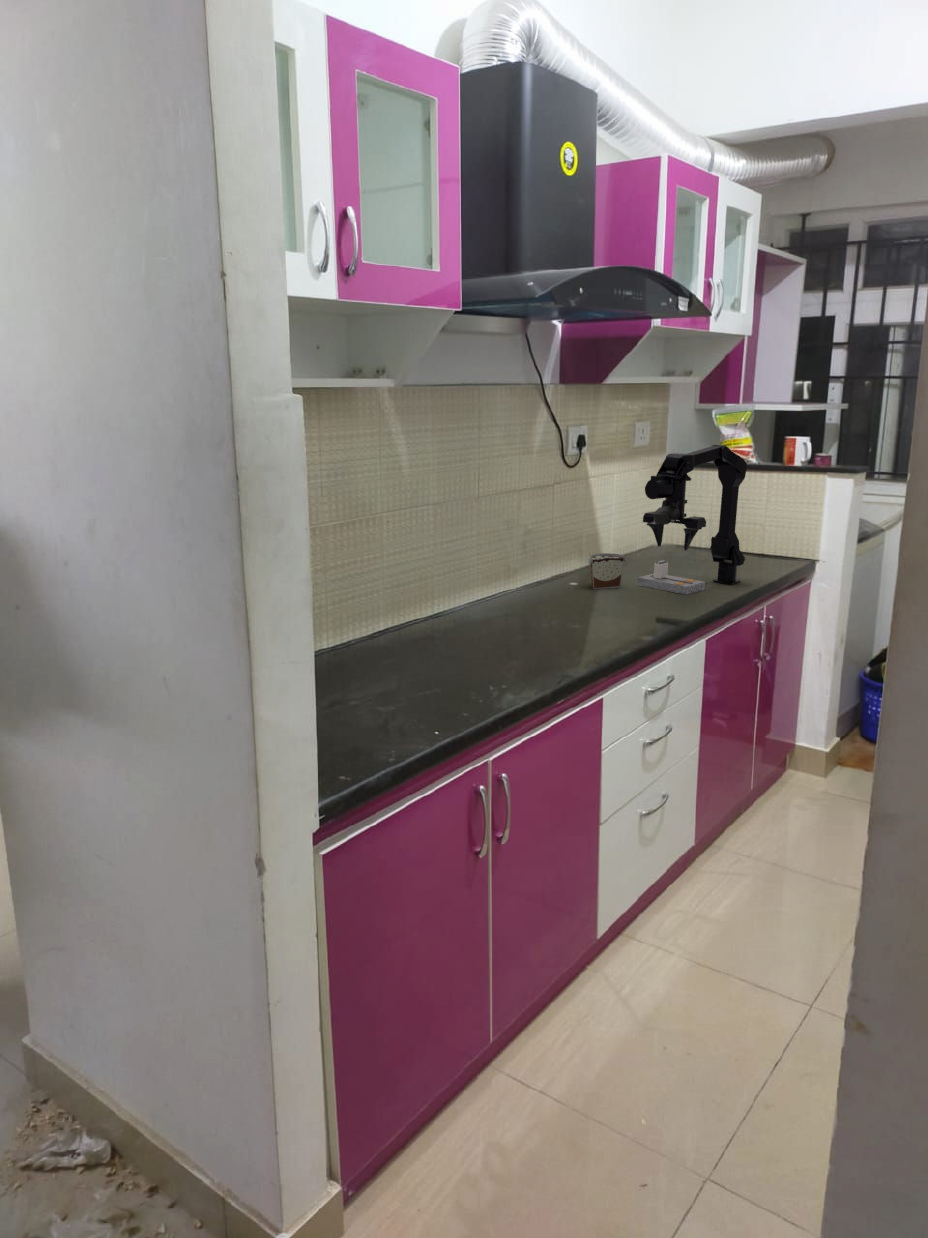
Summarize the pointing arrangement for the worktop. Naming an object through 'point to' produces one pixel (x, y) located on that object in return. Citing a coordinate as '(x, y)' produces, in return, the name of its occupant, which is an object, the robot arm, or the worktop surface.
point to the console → (672, 584)
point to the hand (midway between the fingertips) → (672, 548)
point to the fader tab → (660, 569)
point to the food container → (606, 570)
